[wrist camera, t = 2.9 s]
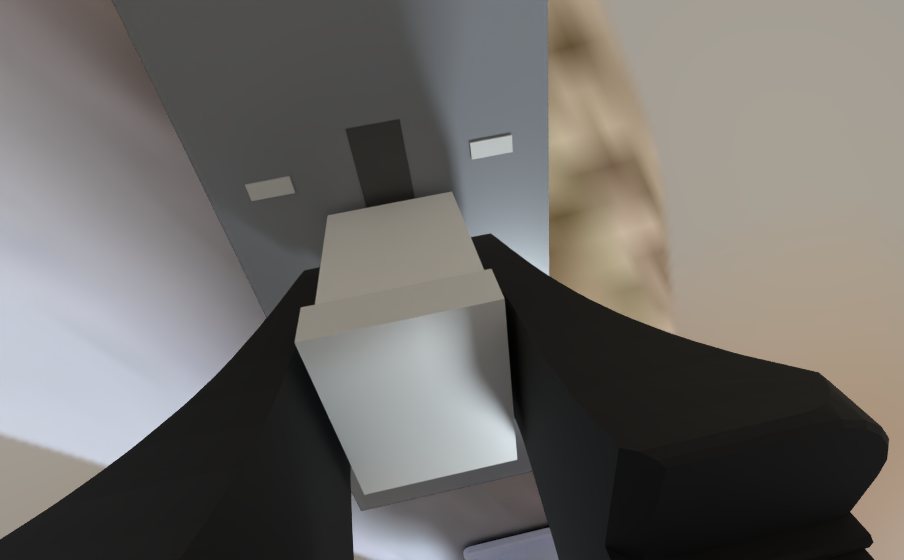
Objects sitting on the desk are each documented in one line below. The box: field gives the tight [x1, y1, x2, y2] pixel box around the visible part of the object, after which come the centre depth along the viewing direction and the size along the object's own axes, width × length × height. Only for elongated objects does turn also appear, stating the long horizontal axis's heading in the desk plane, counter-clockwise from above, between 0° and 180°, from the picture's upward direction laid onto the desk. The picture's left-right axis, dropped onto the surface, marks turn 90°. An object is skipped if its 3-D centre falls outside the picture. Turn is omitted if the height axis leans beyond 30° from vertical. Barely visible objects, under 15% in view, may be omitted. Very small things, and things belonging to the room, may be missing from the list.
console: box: [112, 0, 549, 511], centre depth 14 cm, size 18×8×2 cm, turn 8°
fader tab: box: [294, 192, 517, 495], centre depth 9 cm, size 4×3×5 cm
